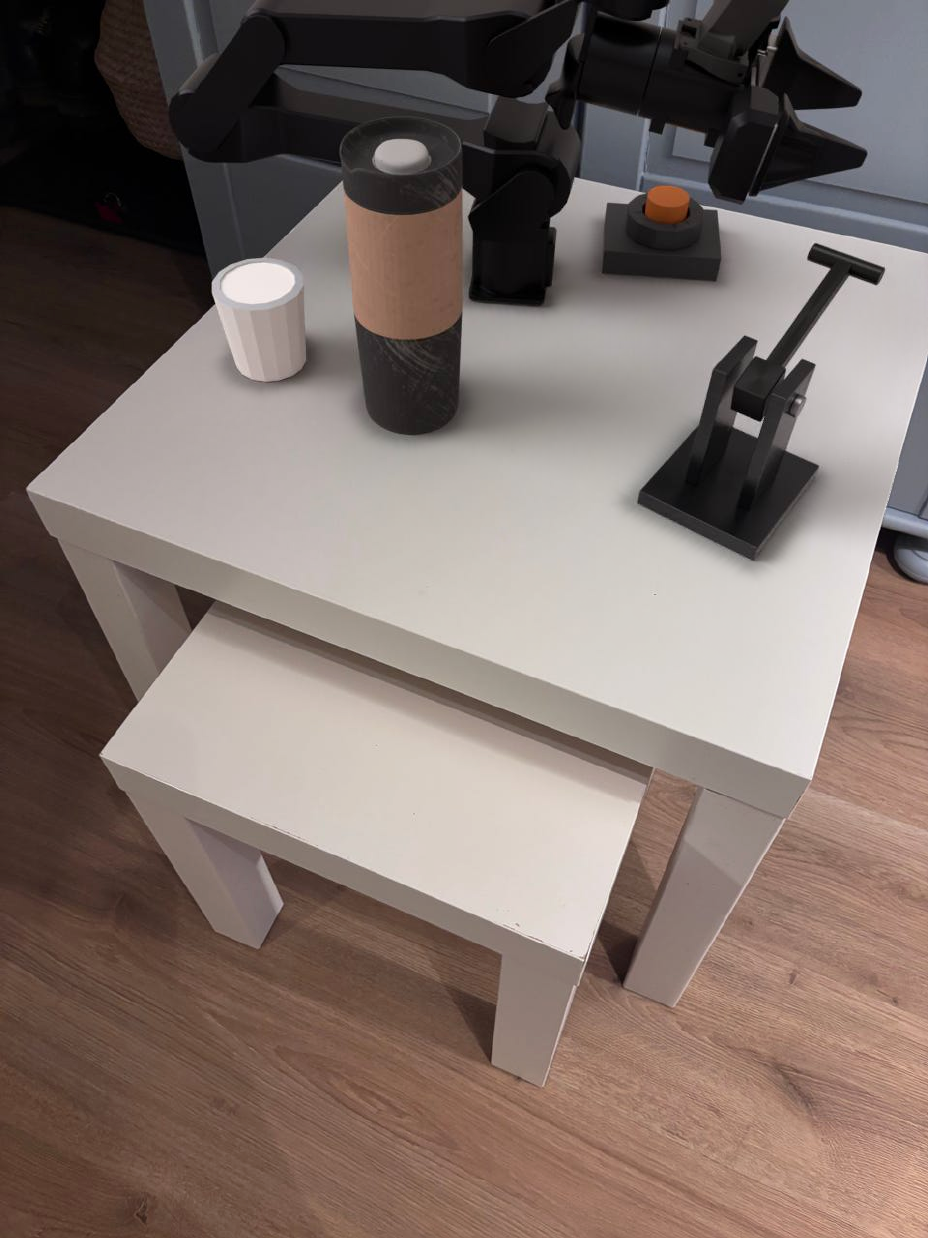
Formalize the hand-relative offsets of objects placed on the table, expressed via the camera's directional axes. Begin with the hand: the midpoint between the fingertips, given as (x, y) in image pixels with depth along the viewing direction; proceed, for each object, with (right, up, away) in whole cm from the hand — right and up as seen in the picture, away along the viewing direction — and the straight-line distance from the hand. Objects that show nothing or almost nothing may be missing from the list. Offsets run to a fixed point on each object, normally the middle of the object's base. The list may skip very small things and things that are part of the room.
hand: (862, 127), depth 70 cm
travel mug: (-32, -19, +6) cm, 38 cm away
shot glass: (-44, -14, +9) cm, 47 cm away
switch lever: (-6, -16, -4) cm, 18 cm away
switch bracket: (-10, -26, 0) cm, 28 cm away
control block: (-11, -2, +19) cm, 22 cm away
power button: (-11, 0, +16) cm, 19 cm away
